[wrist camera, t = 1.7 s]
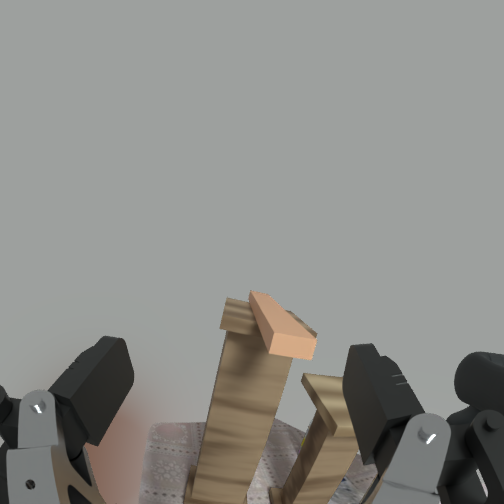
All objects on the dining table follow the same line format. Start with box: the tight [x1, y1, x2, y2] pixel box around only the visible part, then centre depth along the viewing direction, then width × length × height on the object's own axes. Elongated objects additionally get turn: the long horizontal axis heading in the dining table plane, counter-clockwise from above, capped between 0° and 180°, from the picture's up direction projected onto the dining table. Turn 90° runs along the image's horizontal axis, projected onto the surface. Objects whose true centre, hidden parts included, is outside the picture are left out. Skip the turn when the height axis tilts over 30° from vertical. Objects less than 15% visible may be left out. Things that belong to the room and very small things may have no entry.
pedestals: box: [184, 298, 359, 504], centre depth 32 cm, size 18×24×34 cm
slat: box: [249, 291, 317, 360], centre depth 31 cm, size 28×3×2 cm, turn 3°
